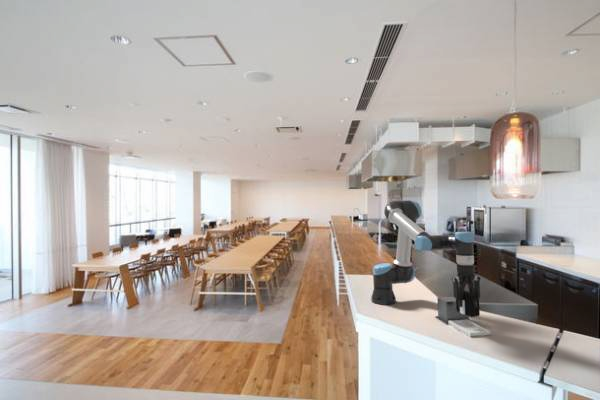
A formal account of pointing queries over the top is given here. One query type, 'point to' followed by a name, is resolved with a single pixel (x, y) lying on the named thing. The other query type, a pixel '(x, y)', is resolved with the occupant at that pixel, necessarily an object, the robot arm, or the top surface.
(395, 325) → the top surface
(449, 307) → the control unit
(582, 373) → the top surface
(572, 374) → the top surface
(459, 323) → the tray
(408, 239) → the robot arm
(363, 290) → the top surface
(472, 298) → the electronic device
